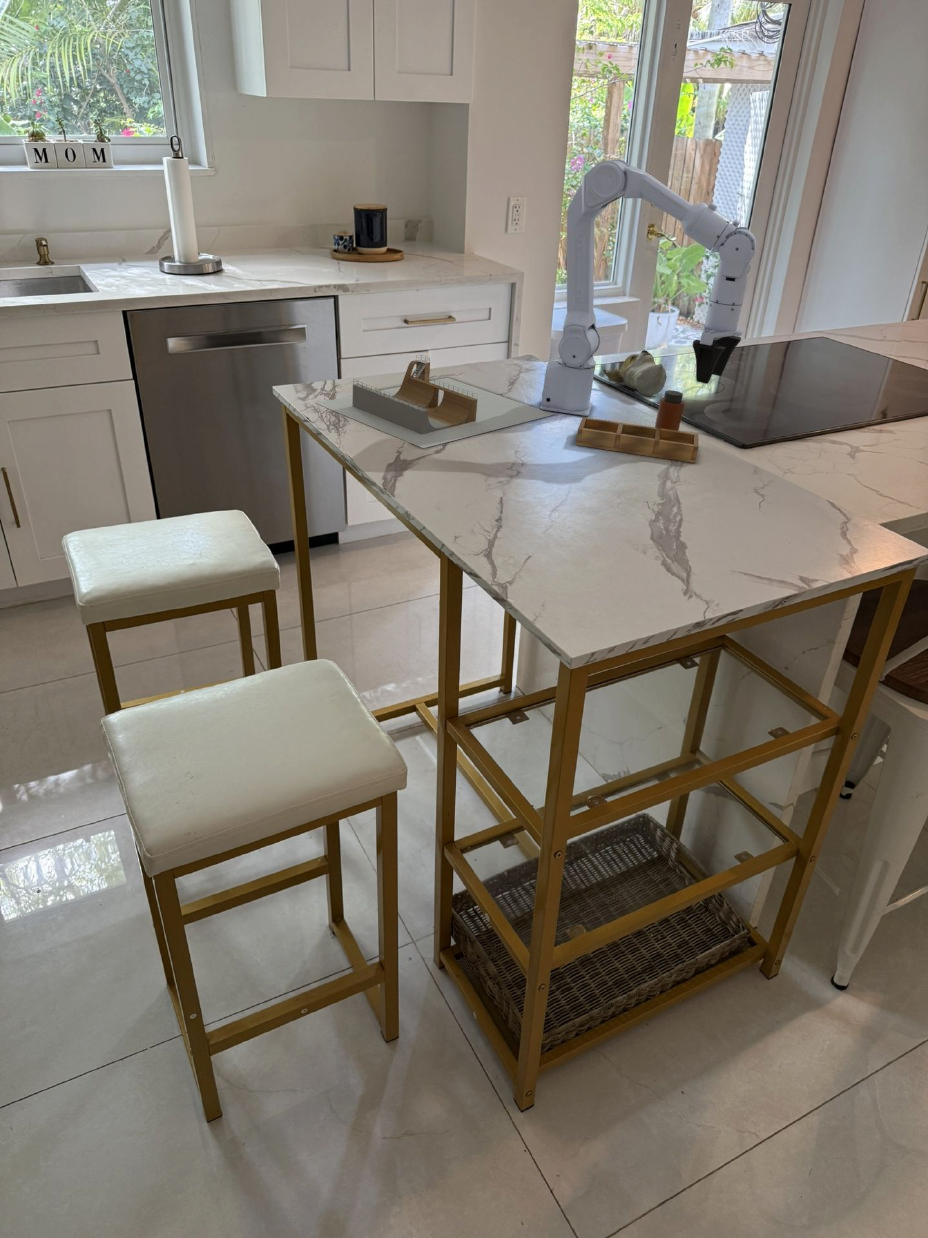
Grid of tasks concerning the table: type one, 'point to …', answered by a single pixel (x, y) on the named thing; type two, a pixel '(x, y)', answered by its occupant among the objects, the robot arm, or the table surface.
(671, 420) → the spice bottle
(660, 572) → the table surface
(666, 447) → the spice tray
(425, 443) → the skate ramp
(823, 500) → the table surface
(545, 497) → the table surface
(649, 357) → the ceramic sculpture
